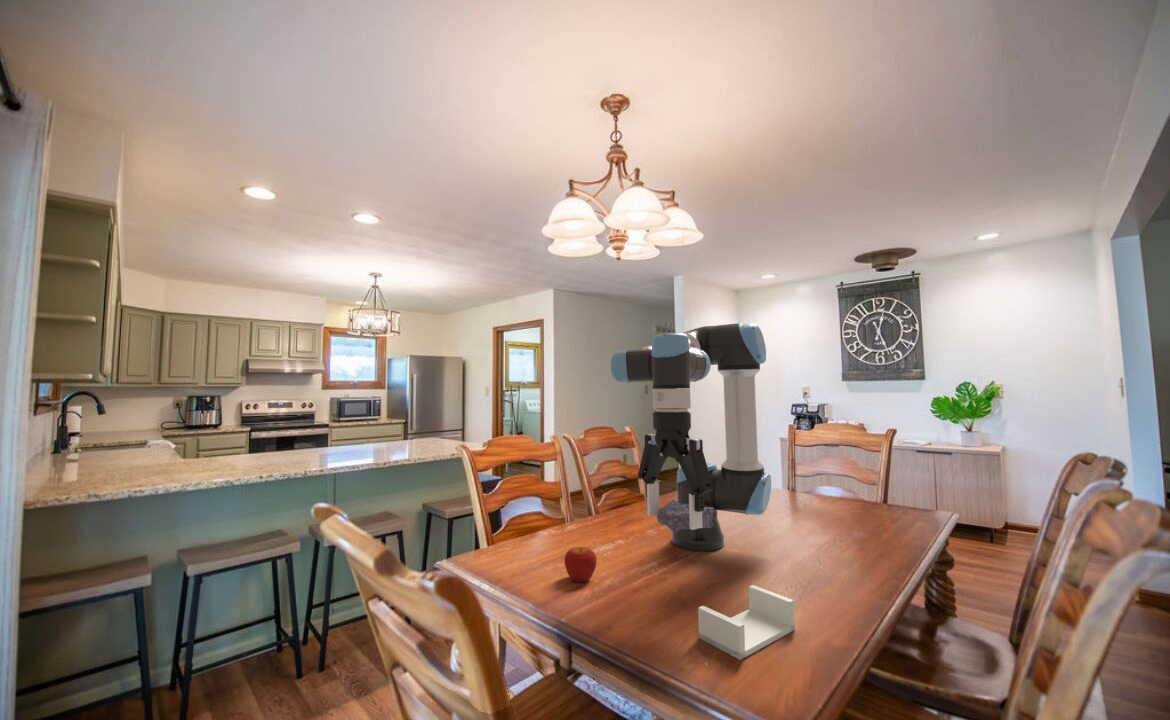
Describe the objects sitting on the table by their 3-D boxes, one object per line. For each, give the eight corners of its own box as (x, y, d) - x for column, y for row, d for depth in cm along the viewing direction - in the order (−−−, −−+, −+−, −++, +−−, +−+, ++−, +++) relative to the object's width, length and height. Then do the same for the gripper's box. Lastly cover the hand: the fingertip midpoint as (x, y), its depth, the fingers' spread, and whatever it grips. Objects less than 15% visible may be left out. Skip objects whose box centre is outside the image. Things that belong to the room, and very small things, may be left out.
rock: (719, 504, 95) (684, 506, 89) (719, 532, 94) (683, 536, 88) (675, 496, 104) (641, 497, 99) (675, 522, 103) (640, 524, 98)
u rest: (698, 638, 89) (698, 607, 89) (753, 612, 99) (752, 584, 99) (740, 660, 81) (739, 626, 82) (794, 629, 91) (793, 600, 92)
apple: (600, 575, 119) (600, 543, 119) (590, 588, 111) (590, 553, 112) (571, 571, 121) (571, 540, 122) (559, 583, 114) (559, 550, 114)
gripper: (620, 409, 104) (621, 511, 102) (704, 413, 84) (706, 539, 83) (646, 408, 108) (647, 506, 107) (731, 411, 89) (734, 532, 87)
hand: (673, 521), depth 95 cm, fingers closed on rock, 11 cm apart
